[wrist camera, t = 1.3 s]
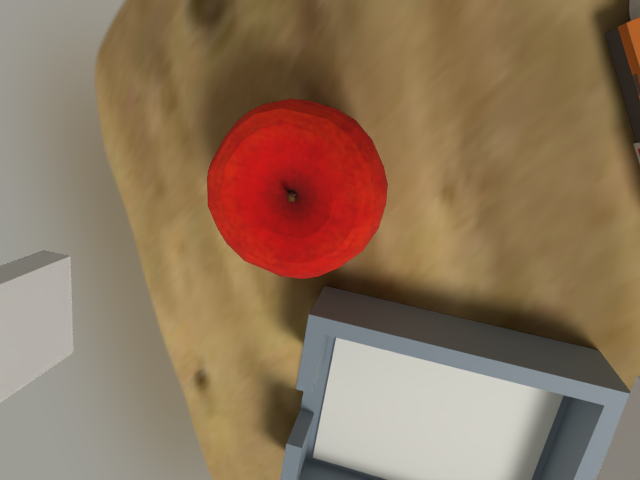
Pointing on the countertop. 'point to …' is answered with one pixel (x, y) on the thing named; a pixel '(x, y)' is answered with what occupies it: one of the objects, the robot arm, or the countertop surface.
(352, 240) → the apple
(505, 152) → the countertop surface
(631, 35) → the electronic device
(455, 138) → the countertop surface
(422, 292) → the countertop surface
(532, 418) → the grey tray
